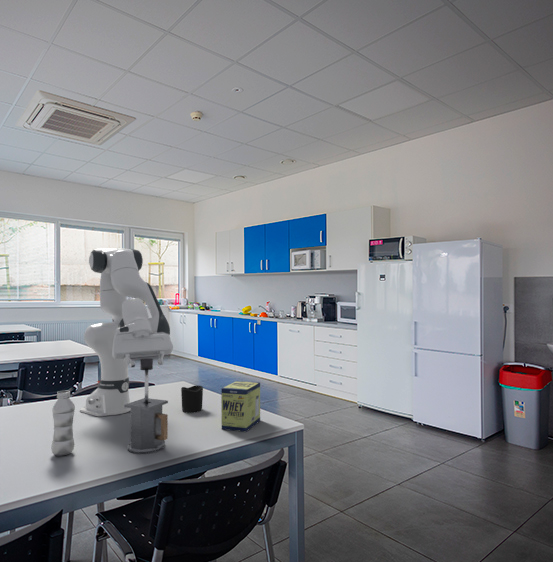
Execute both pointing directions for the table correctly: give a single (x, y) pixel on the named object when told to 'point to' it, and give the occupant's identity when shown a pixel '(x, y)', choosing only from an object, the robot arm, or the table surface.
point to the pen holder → (192, 399)
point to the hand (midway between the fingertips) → (147, 365)
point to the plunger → (146, 373)
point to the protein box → (240, 405)
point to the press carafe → (147, 426)
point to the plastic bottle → (63, 424)
